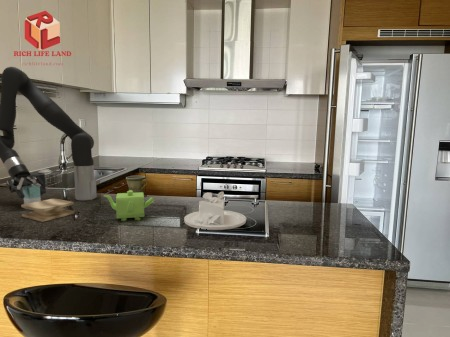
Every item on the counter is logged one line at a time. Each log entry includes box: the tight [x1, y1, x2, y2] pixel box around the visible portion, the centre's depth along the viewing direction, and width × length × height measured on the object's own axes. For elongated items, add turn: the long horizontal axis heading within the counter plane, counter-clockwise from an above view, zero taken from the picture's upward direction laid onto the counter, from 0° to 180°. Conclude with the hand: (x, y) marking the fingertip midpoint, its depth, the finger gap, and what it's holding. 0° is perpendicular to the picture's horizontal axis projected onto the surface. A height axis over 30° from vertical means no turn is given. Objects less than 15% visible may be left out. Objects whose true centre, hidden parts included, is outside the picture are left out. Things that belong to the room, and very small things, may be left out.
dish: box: [183, 191, 247, 231], centre depth 131 cm, size 25×25×11 cm
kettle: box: [104, 189, 155, 222], centre depth 133 cm, size 15×14×11 cm
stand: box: [20, 198, 75, 223], centre depth 136 cm, size 14×14×5 cm
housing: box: [23, 185, 42, 211], centre depth 148 cm, size 5×5×10 cm
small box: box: [20, 173, 47, 193], centre depth 180 cm, size 11×6×10 cm, turn 84°
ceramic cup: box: [125, 175, 149, 193], centre depth 175 cm, size 13×10×10 cm
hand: (33, 196), depth 147 cm, fingers open, 8 cm apart
